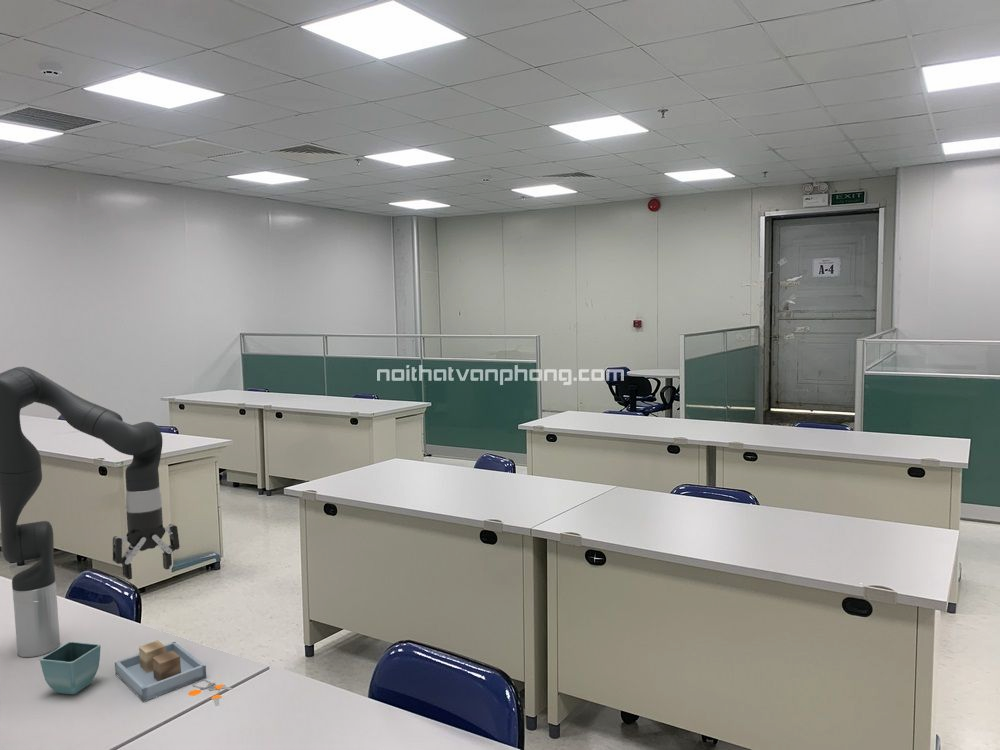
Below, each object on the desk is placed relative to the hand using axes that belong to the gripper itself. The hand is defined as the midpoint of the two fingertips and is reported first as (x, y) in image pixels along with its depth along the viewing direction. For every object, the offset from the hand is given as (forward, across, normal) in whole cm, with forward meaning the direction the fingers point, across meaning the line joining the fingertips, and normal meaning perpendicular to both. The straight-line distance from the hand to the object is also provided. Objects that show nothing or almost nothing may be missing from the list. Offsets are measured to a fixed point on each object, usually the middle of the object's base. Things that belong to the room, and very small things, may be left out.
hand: (148, 573), depth 166 cm
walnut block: (+23, 0, -8) cm, 24 cm away
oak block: (+23, 0, 0) cm, 23 cm away
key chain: (+25, +5, -20) cm, 32 cm away
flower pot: (+24, -16, +5) cm, 30 cm away
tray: (+24, 0, -4) cm, 24 cm away
